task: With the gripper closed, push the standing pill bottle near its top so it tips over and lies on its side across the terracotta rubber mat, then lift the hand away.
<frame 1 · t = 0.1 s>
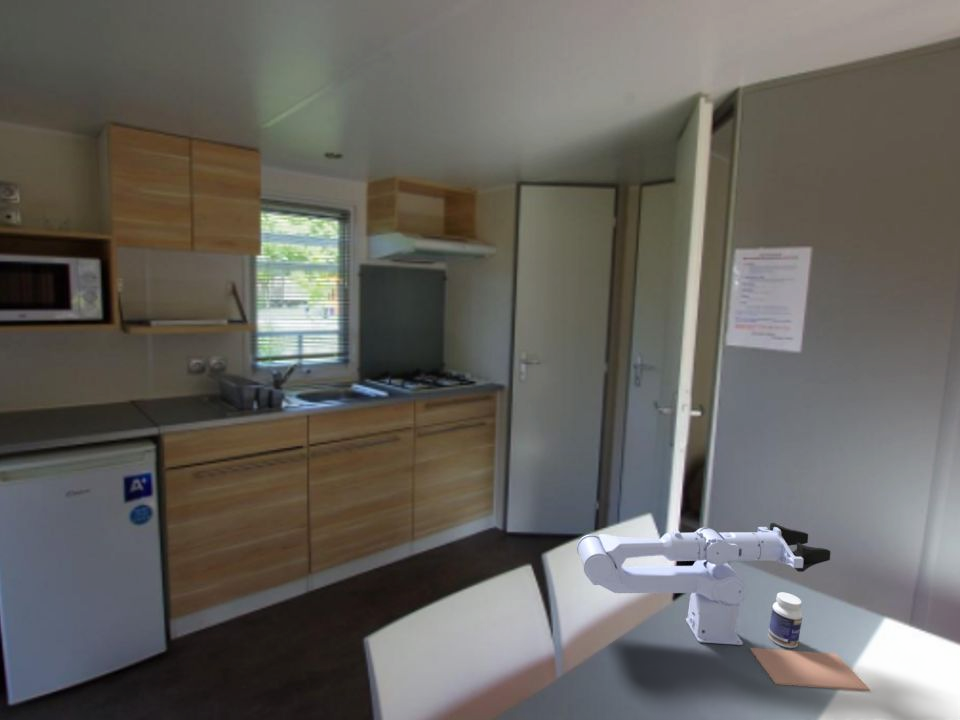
hand: (817, 546, 115), 22 cm above the table, tool horizontal, fingers open, 7 cm apart
pill bottle: (782, 641, 116), on the table
mat: (807, 669, 107), on the table
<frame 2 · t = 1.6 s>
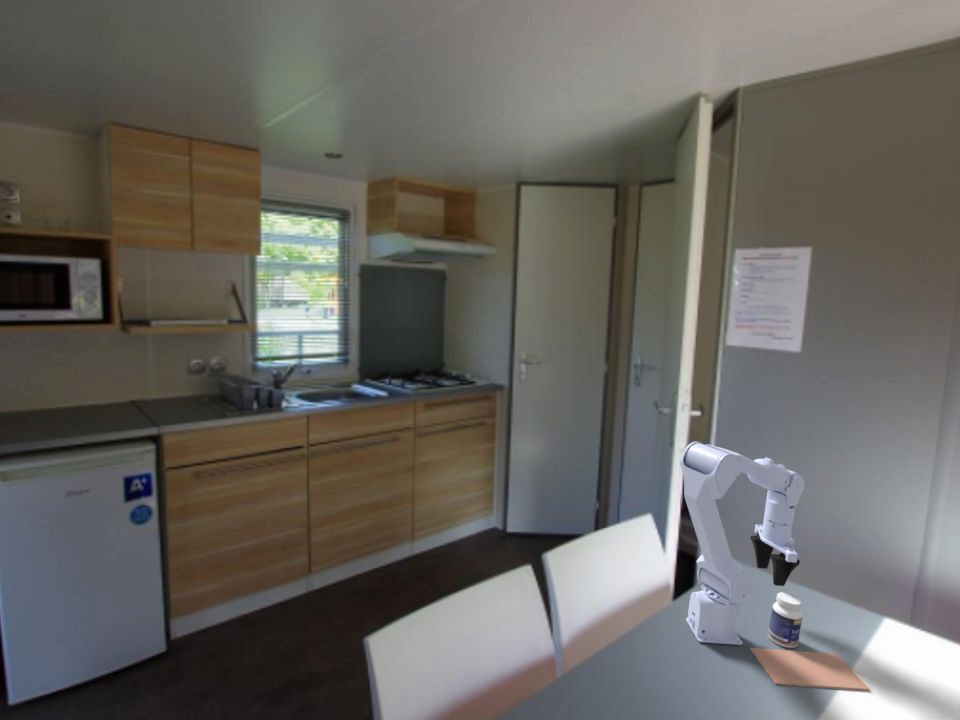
hand: (770, 576, 123), 10 cm above the table, tool pointing down, fingers open, 7 cm apart
nothing on the table moved.
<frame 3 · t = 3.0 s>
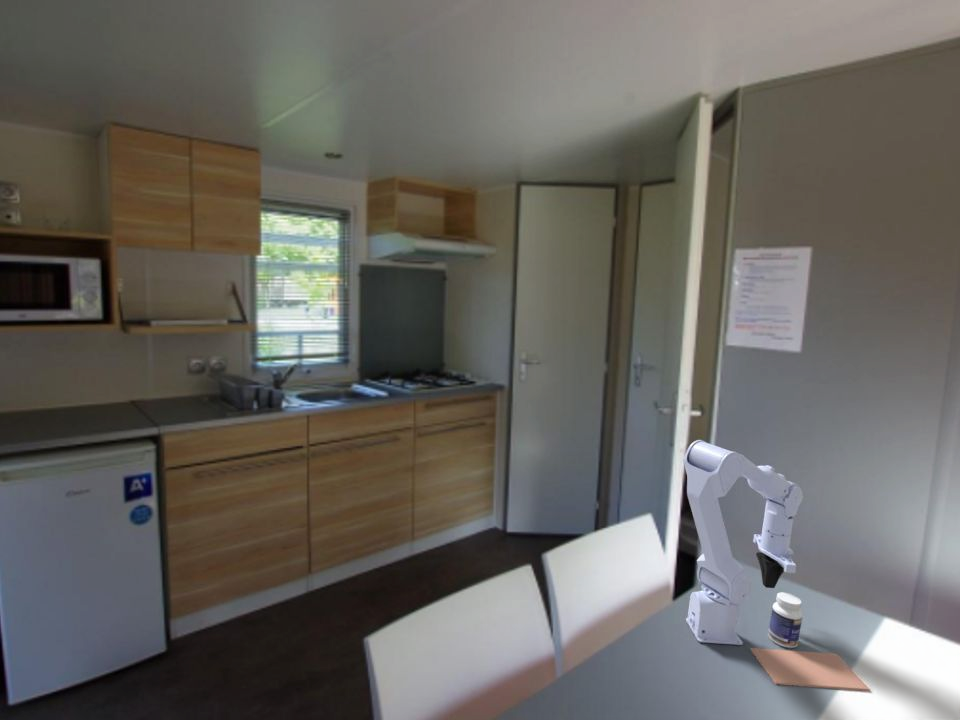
hand: (768, 586, 123), 8 cm above the table, tool pointing down, fingers closed
nothing on the table moved.
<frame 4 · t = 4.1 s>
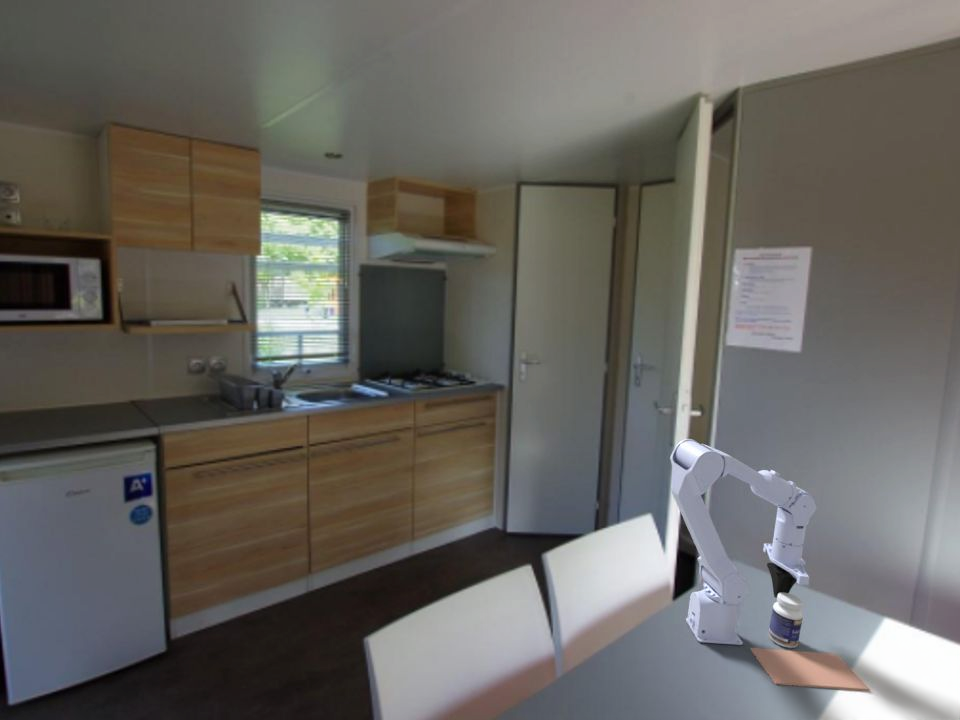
hand: (779, 597, 119), 8 cm above the table, tool pointing down, fingers closed
pill bottle: (782, 641, 116), on the table, touching gripper
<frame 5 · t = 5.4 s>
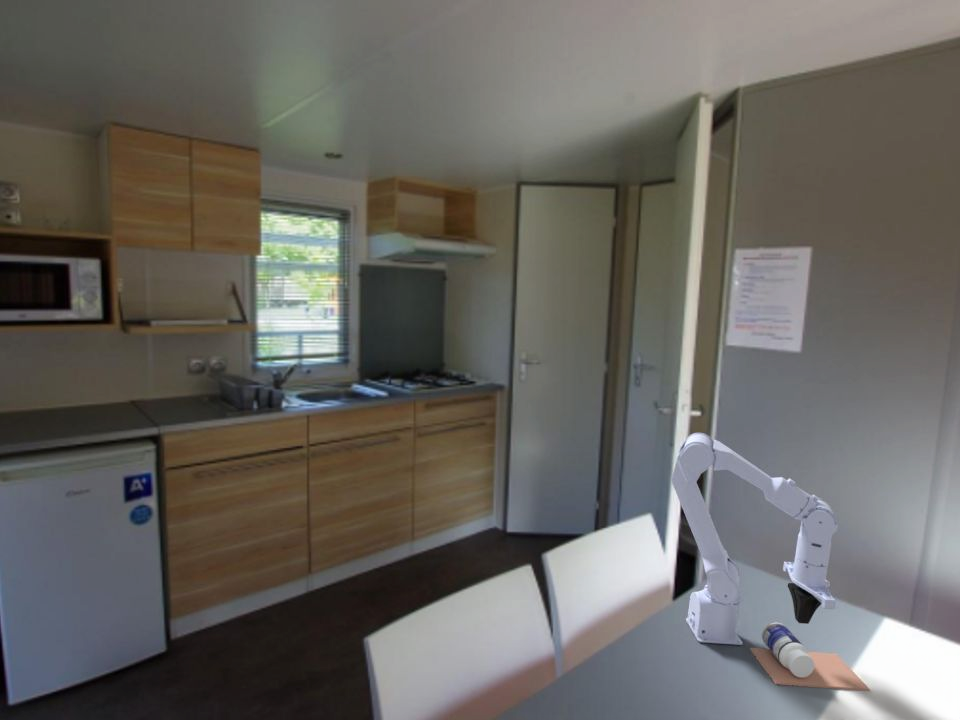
hand: (801, 621, 110), 8 cm above the table, tool pointing down, fingers closed
pill bottle: (773, 632, 113), point 3 cm above the table, touching mat
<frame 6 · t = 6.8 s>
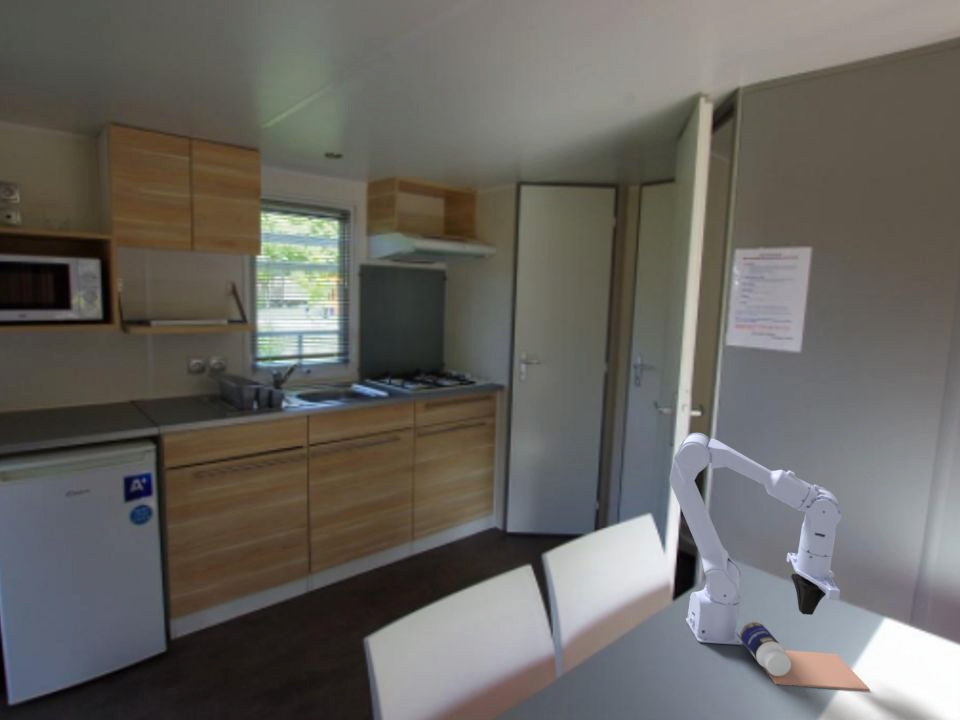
hand: (805, 612, 109), 10 cm above the table, tool pointing down, fingers closed
pill bottle: (751, 632, 113), point 3 cm above the table, touching mat
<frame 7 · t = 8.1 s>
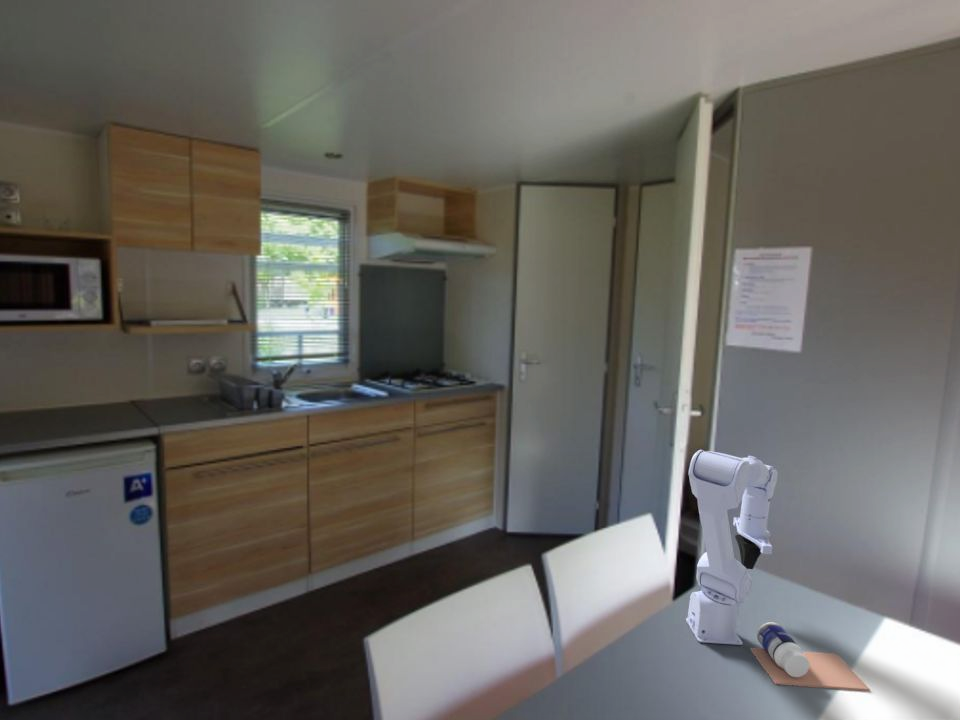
hand: (747, 567, 126), 10 cm above the table, tool pointing down, fingers closed
pill bottle: (768, 632, 113), point 3 cm above the table, touching mat
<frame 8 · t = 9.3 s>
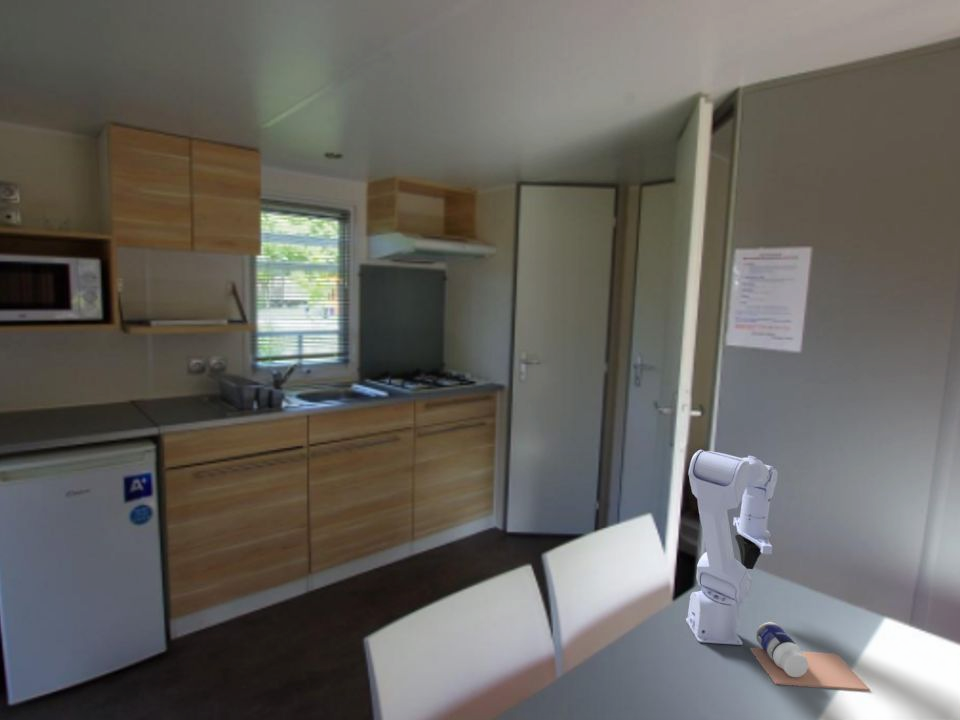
hand: (747, 567, 126), 10 cm above the table, tool pointing down, fingers closed
nothing on the table moved.
at the end: pill bottle tilted 91°; pill bottle touching mat; pill bottle inside the target area (5.5 cm from its centre), point 3.3 cm above the table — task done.
